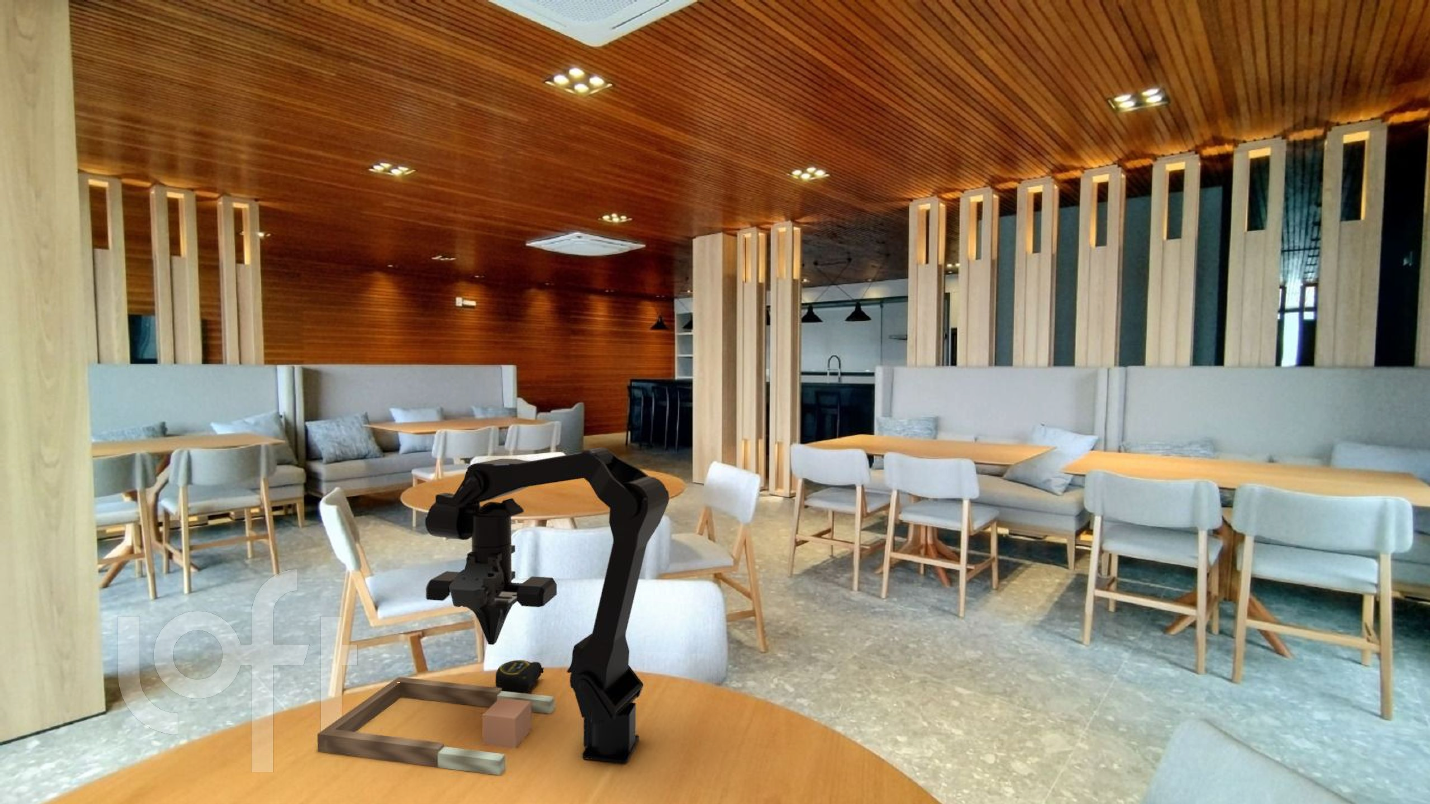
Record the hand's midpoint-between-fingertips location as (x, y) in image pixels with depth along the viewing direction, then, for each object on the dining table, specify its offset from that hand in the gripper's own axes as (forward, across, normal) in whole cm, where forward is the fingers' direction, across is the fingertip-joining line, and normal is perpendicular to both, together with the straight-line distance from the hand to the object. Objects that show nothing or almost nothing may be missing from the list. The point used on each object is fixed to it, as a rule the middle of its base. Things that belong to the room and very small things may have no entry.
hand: (492, 643), depth 101 cm
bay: (+12, -6, -4) cm, 14 cm away
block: (+12, +4, -4) cm, 14 cm away
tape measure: (+12, 0, +10) cm, 16 cm away
